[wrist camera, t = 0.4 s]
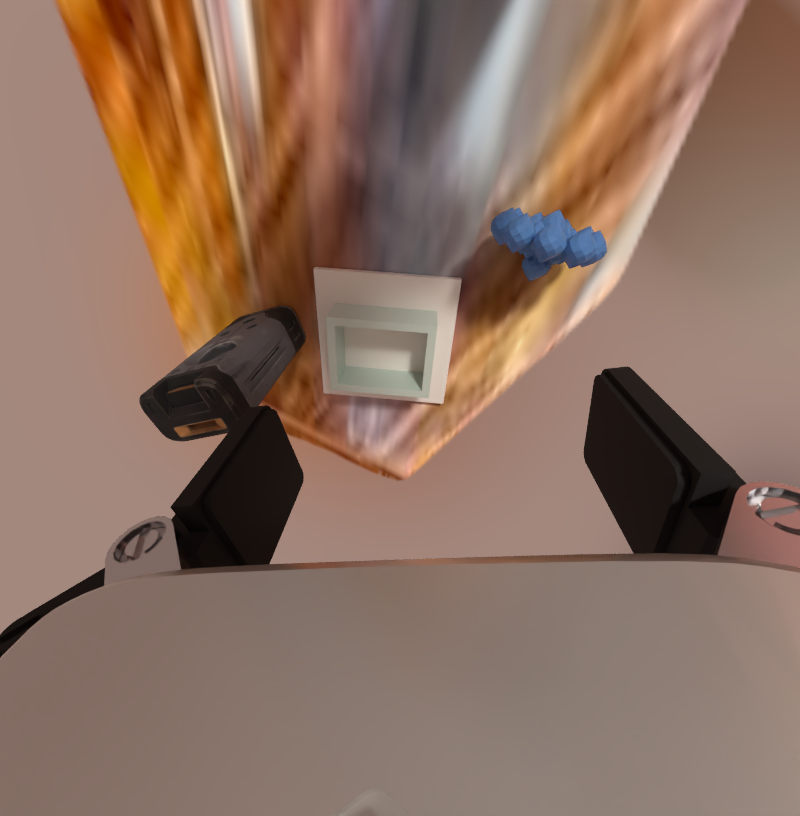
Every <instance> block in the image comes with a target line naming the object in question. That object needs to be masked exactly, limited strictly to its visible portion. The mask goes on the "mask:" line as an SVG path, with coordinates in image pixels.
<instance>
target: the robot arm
mask: <svg viewBox="0 0 800 816" xmlns="http://www.w3.org/2000/svg"><path fill="white" fill-rule="evenodd" d="M584 458H585V462H586V464H587V466H588V468H589V470H590V472H591V474H592V476H593V478H594V479H595V481H596V483H597V485H598V487H599V489H600V491H601V493H602V494H603V496H604V498H605V500H606V502H607V504H608V506H609V507H610V510H611V511H612V513H613V515H614V517H615V519H616V521H617V523H618V525H619V527H620V528H621V530H622V532H623V534H624V536H625V538H626V540H627V542H628V544H629V545H630V547H631V549H632V551H633V553H634V554H575V555H540V556H506V557H505V556H503V557H467V558H437V559H436V558H435V559H404V560H378V561H377V560H375V561H347V562H346V561H345V562H320V563H293V564H269V563H270V561H271V559H272V556H273V554H274V551H275V549H276V546H277V544H278V541H279V539H280V537H281V534H282V532H283V530H284V527H285V525H286V522H287V520H288V517H289V515H290V513H291V510H292V508H293V505H294V503H295V501H296V498H297V495H298V493H299V491H300V488H301V486H302V484H303V472H302V469H301V467H300V464H299V463H298V460H297V457H296V455H295V453H294V450H293V448H292V446H291V444H290V441H289V439H288V437H287V434H286V432H285V430H284V427H283V425H282V423H281V420H280V418H279V416H278V414H277V412H276V411H275V410H274V409H271V408H270V407H269V406H267V405H266V406H257V407H249V408H248V409H246V411H245V412H244V413H243V415H242V416H241V417H240V418H239V420H238V421H237V422H236V424H235V425H234V426H233V427H232V429H231V430H230V431H229V433H228V434H227V435H226V436H225V438H224V439H223V440H222V442H221V443H220V444H219V445H218V447H217V448H216V449H215V451H214V452H213V453H212V454H211V456H210V457H209V458H208V460H207V461H206V462H205V464H204V465H203V466H202V467H201V469H200V470H199V471H198V473H197V474H196V475H195V476H194V478H193V479H192V480H191V481H190V483H189V484H188V485H187V487H186V488H185V489H184V490H183V492H182V493H181V494H180V496H179V497H178V498H177V499H176V501H175V502H174V503H173V505H172V506H171V508H172V510H173V511H174V512H175V516H174V517H173V518H172V520H171V519H170V518H167V517H165V516H161V517H160V516H157V517H153V518H149V519H147V520H144V521H142V522H140V523H138V524H136V525H134V526H133V527H131V528H129V529H128V530H127V531H126V532H125V533H124V534H122V535H121V536H120V537H119V538H118V539H117V540H116V541H115V542H114V543H113V545H112V546H111V547H110V549H109V551H108V553H107V556H106V561H105V568H104V569H102V570H100V571H99V572H97V573H95V574H94V575H92V576H90V577H88V578H87V579H85V580H83V581H82V582H80V583H78V584H77V585H75V586H73V587H71V588H70V589H68V590H66V591H65V592H63V593H61V594H60V595H58V596H57V597H55V598H53V599H51V600H49V601H48V602H46V603H45V604H43V605H41V606H39V607H38V608H36V609H34V610H33V611H31V612H29V613H28V614H26V615H25V616H23V617H21V618H19V619H18V620H16V621H15V622H13V623H12V624H11V625H9V627H7V628H6V629H5V630H4V631H3V632H2V634H1V635H0V816H800V488H797V487H794V486H791V485H786V484H782V483H778V482H766V481H758V482H750V483H747V484H746V483H745V482H744V481H743V480H742V479H741V478H740V477H739V476H738V475H737V474H736V471H735V470H734V469H733V468H732V467H731V466H729V464H728V463H727V462H725V460H723V458H722V457H721V456H720V455H718V454H717V453H716V452H715V451H714V450H713V449H712V448H711V447H710V446H709V445H708V444H707V443H706V442H705V441H704V440H703V439H702V438H701V437H700V436H699V435H698V434H697V433H696V432H695V431H694V430H693V429H692V428H691V427H690V426H689V425H688V424H687V423H686V422H685V421H684V420H683V419H682V418H681V417H680V416H679V415H678V414H677V413H676V412H675V411H674V410H673V409H672V408H671V407H670V406H669V405H667V403H666V402H665V401H664V400H663V399H662V398H661V397H660V396H659V395H657V393H655V391H654V390H652V389H651V388H650V387H649V386H648V385H647V384H646V383H645V382H644V381H643V380H642V379H641V378H640V377H639V376H638V375H637V374H636V373H635V372H634V371H633V370H632V369H631V368H630V367H620V368H610V369H605V370H603V371H602V373H601V375H597V376H596V377H595V379H594V385H593V392H592V399H591V406H590V413H589V419H588V425H587V432H586V439H585V446H584Z"/></svg>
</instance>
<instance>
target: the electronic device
mask: <svg viewBox="0 0 800 816" xmlns="http://www.w3.org/2000/svg"><path fill="white" fill-rule="evenodd" d="M304 342H305V333H304V331H303V328H302V326H301V324H300V322H299V320H298V317H297V315H296V314H295V312H294V311H293V310H292V309H291V308H290V307H287V306H277V307H274V308H270V309H266V310H263V311H259V312H256V313H252V314H248V315H245V316H241V317H239V318H238V319H236V320H235V321H234V322H232V323H231V324H230V325H229V326H227V327H226V328H225V329H224V330H222V331H221V332H220V333H219V334H217V335H216V336H215V337H214V338H212V339H211V340H210V341H209V342H207V343H206V344H205V345H204V346H202V347H201V348H200V349H199V350H197V351H196V352H195V353H193V354H192V355H191V356H190V357H188V358H187V359H186V360H185V361H183V362H182V363H181V364H180V365H178V366H177V367H176V368H175V369H174V370H172V371H171V372H170V373H169V374H167V375H166V376H165V377H164V378H162V379H161V380H160V381H158V382H157V383H156V384H155V385H153V386H152V387H151V388H150V389H148V390H147V391H146V392H145V393H144V394H142V395H141V396H140V405H141V407H142V409H143V411H144V412H145V414H146V415H147V416H148V417H149V418H150V420H151V421H152V422H153V423H154V424H155V426H156V427H157V428H158V429H159V430H160V432H161V433H162V434H163V435H164V436H166V437H167V438H169V439H171V440H175V441H189V440H194V439H199V438H204V437H209V436H214V435H219V434H225V433H229V431H230V430H231V429H232V427H233V426H234V425H235V424H236V422H237V421H238V420H239V418H240V417H241V416H242V415H243V413H244V412H245V411H246V409H248V408H249V407H257V406H259V404H260V403H261V402H262V400H263V399H264V397H265V396H266V395H267V393H268V392H269V390H270V389H271V388H272V386H273V385H274V383H275V382H276V381H277V379H278V378H279V377H280V375H281V374H282V372H283V371H284V370H285V368H286V367H287V365H288V364H289V363H290V361H291V360H292V358H293V357H294V356H295V354H296V353H297V352H298V350H299V349H300V347H301V346H302V345H303V343H304Z"/></svg>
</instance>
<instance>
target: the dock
mask: <svg viewBox="0 0 800 816" xmlns="http://www.w3.org/2000/svg"><path fill="white" fill-rule="evenodd" d="M313 271H314V283H315V295H316V307H317V319H318V331H319V343H320V355H321V367H322V379H323V391H324V393H325V394H337V395H348V396H359V397H371V398H382V399H394V400H405V401H416V402H428V403H439V404H443V402H444V395H445V388H446V382H447V375H448V368H449V362H450V355H451V348H452V342H453V335H454V328H455V322H456V315H457V308H458V302H459V295H460V288H461V282H462V279H461V278H458V277H445V276H432V275H419V274H405V273H392V272H379V271H366V270H353V269H340V268H327V267H315V268H313Z"/></svg>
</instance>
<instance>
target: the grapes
mask: <svg viewBox="0 0 800 816" xmlns="http://www.w3.org/2000/svg"><path fill="white" fill-rule="evenodd" d="M491 232H492V234H493V236H494V238H495V240H496V241H497V243H498V244H499V246H500V245H502V244H505V243H506V244H507V246H508V248H509V250H510V251H511V253H514V252H517V251H518V252H519V254H522V253H523V254H524V256H525V258H524V259H523V262H522V269H523V271H524V273H525V275H526V277H527V278H528V280H529V281H532V280H535V279H537V278H540V277H542V276H544V275H546V274H547V272H548V271H549V270H550V268H551V265H554V264H558V265H559V264H561V263H563V262H566V264H567V265H568V267H569V269H570V268H573V267H576V266H578V265H581V267H585V266H588V265H590V264H593V263H595V262H597V261H599V260H601V259H602V258H603V257H604V255H605V254H606V252H607V247H606V241H605V239H604V237H603V235H602V233H601V231H597V232H595V233H594V232H593V230H592V228H591V226H590V227H587V228H585V229H583V230H581V231H579V232H576V230H575V229H573V228H572V226H571V224H570V223H569V221H568V219H567V220H565V219H564V217H563V215H562V213H561V211H560V210H557V211H555V212H553V213H551V214H549V215H547V216H545V217H543V215H542V213H541V212H540V213H537V214H535V215H533V216H531V217H529V215H528V214H527V213H526V214H523V213H522V211H521V209H520V208H517V209H515V210H514V209H513V208H511V209H508V210H506V211H504V212H502V213H501V214H499V215H498V216H496V217H495V218H494V219H493V220H492V222H491Z"/></svg>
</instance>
